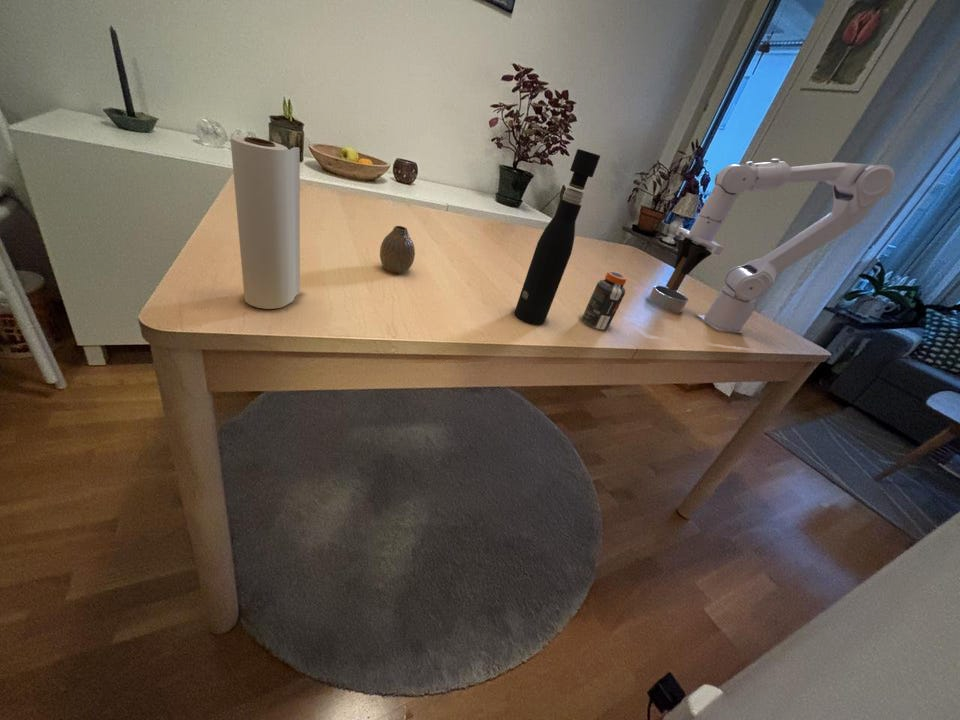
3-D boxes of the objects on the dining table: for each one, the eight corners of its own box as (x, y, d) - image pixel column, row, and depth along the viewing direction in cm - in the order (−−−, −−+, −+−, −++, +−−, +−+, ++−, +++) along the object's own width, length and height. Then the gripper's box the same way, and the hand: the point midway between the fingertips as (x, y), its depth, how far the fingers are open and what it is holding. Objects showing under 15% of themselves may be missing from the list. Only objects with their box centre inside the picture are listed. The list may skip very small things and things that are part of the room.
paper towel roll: (241, 308, 53) (225, 137, 42) (247, 289, 58) (234, 131, 46) (298, 312, 56) (297, 153, 45) (299, 294, 61) (299, 145, 49)
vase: (418, 273, 80) (425, 232, 76) (396, 279, 75) (402, 235, 70) (394, 261, 83) (399, 220, 78) (370, 265, 77) (375, 222, 73)
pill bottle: (609, 333, 79) (634, 283, 73) (582, 324, 79) (604, 274, 74) (606, 322, 84) (629, 274, 78) (581, 313, 85) (602, 265, 79)
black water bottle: (548, 318, 78) (610, 158, 62) (539, 328, 73) (605, 157, 57) (520, 306, 79) (574, 147, 64) (509, 315, 74) (565, 145, 58)
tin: (666, 300, 111) (673, 288, 109) (687, 316, 103) (695, 302, 101) (640, 296, 108) (647, 283, 106) (660, 311, 100) (668, 298, 98)
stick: (671, 287, 103) (688, 257, 98) (676, 291, 101) (694, 260, 96) (665, 286, 102) (682, 256, 97) (670, 289, 100) (687, 259, 96)
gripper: (678, 207, 96) (652, 258, 103) (719, 224, 85) (686, 280, 92) (699, 213, 98) (672, 263, 105) (742, 230, 87) (708, 284, 94)
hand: (680, 271), depth 99 cm, fingers closed on stick, 2 cm apart
